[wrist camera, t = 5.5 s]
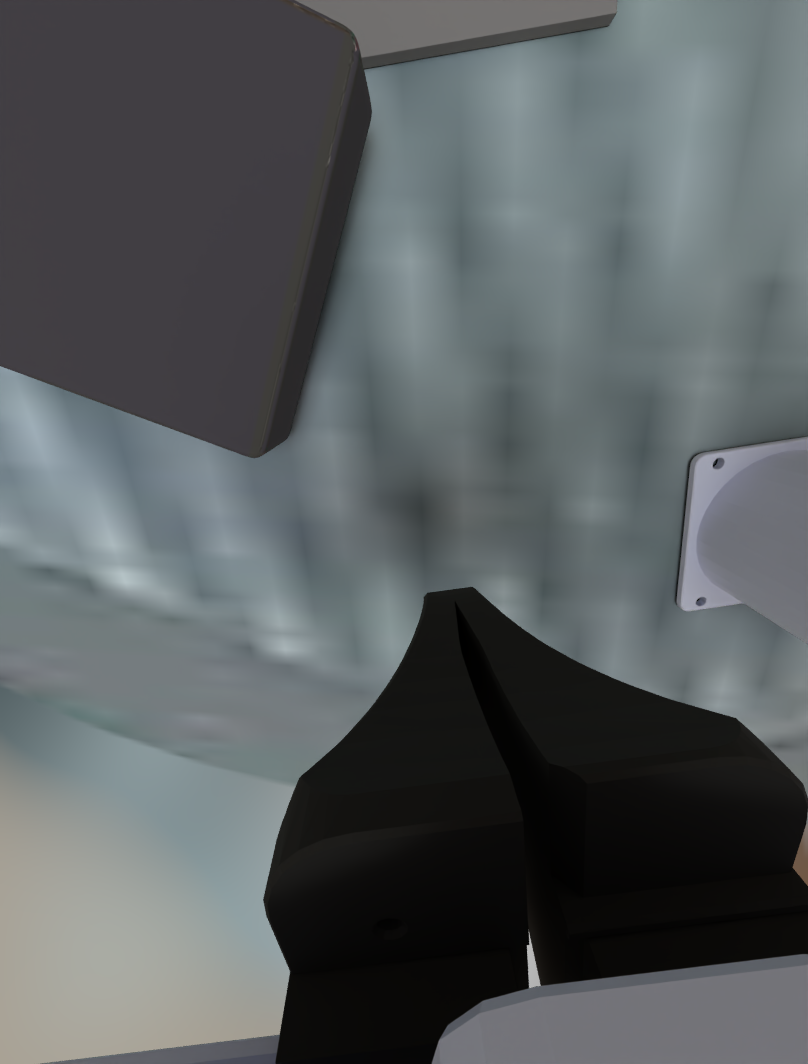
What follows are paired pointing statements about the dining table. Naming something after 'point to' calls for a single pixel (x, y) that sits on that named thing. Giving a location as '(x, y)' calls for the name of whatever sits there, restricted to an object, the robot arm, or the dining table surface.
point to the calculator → (174, 203)
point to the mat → (456, 24)
